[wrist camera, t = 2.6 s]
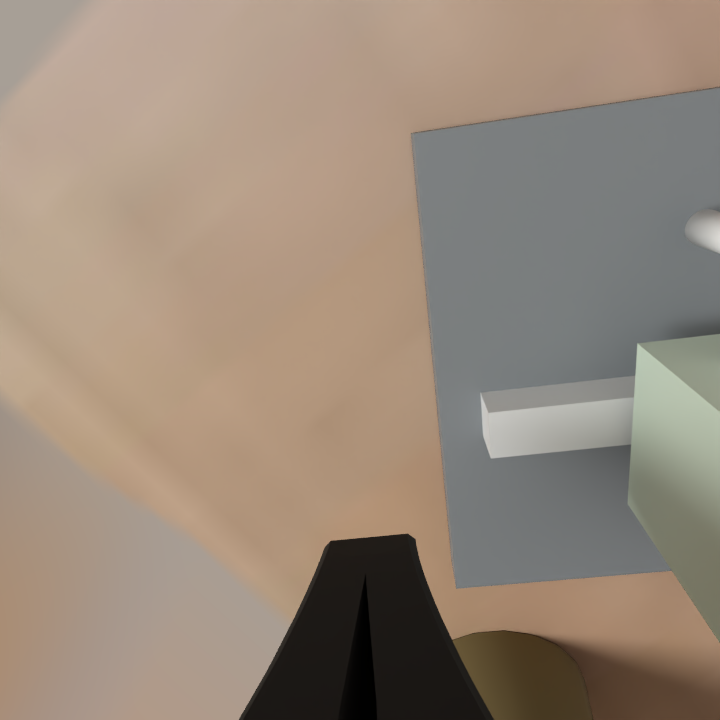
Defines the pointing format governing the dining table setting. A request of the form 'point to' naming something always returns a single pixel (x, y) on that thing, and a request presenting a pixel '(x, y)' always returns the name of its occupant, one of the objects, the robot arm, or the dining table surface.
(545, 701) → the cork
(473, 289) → the plate
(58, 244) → the dining table surface
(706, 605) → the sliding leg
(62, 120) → the dining table surface
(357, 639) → the robot arm
